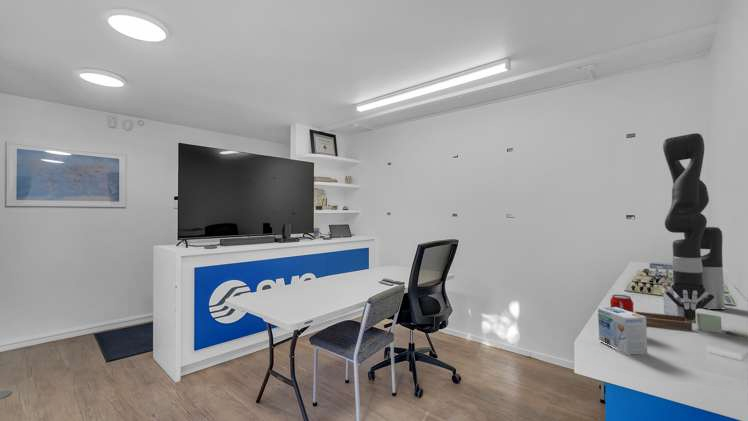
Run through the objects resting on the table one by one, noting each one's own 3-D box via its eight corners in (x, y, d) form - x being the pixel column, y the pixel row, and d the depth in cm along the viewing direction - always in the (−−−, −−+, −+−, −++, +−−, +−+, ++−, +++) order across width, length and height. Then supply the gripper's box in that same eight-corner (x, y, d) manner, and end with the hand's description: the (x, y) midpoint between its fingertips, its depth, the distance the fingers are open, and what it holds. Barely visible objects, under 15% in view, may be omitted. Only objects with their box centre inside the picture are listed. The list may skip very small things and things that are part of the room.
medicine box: (692, 320, 120) (690, 296, 121) (677, 319, 121) (676, 296, 121) (676, 313, 128) (675, 291, 128) (663, 313, 129) (662, 291, 129)
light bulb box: (598, 341, 103) (596, 307, 103) (618, 340, 104) (616, 306, 104) (627, 356, 93) (625, 317, 93) (649, 354, 93) (647, 316, 93)
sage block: (696, 326, 114) (695, 311, 114) (715, 328, 111) (715, 313, 111) (700, 330, 110) (700, 315, 110) (721, 332, 107) (721, 317, 107)
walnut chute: (635, 318, 124) (634, 311, 124) (684, 323, 117) (684, 316, 117) (639, 324, 117) (639, 317, 117) (692, 330, 110) (691, 323, 110)
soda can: (630, 329, 113) (628, 294, 113) (638, 335, 107) (636, 299, 107) (608, 327, 115) (607, 293, 115) (615, 334, 109) (613, 298, 109)
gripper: (709, 269, 113) (711, 319, 113) (660, 267, 120) (662, 314, 120) (718, 272, 107) (720, 325, 107) (665, 270, 114) (667, 320, 113)
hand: (689, 319), depth 113 cm, fingers closed
